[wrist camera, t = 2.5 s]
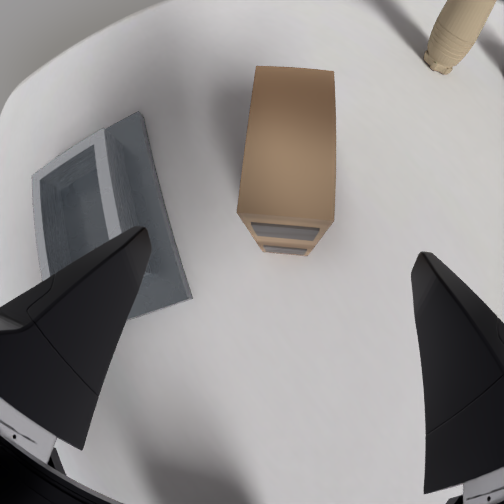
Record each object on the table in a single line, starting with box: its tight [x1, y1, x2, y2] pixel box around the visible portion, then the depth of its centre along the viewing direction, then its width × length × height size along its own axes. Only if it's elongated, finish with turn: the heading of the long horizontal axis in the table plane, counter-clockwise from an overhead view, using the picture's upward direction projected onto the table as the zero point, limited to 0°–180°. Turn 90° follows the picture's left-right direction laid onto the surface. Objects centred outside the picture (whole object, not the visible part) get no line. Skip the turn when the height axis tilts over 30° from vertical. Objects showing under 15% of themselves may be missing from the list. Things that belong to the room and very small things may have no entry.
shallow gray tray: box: [32, 111, 193, 321], centre depth 20 cm, size 16×12×4 cm
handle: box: [424, 0, 496, 75], centre depth 13 cm, size 5×6×15 cm
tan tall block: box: [237, 66, 336, 256], centre depth 15 cm, size 6×3×11 cm, turn 174°
